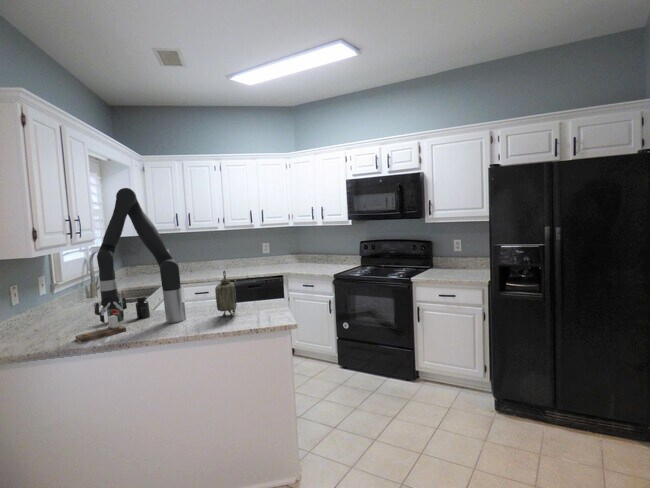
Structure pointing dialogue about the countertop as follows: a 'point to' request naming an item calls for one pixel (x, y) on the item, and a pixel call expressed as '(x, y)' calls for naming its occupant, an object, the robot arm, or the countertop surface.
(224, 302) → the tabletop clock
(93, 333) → the board
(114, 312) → the canned tomato
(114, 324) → the fader
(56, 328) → the countertop surface
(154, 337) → the countertop surface
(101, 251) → the robot arm
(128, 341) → the countertop surface
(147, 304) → the supplement bottle
